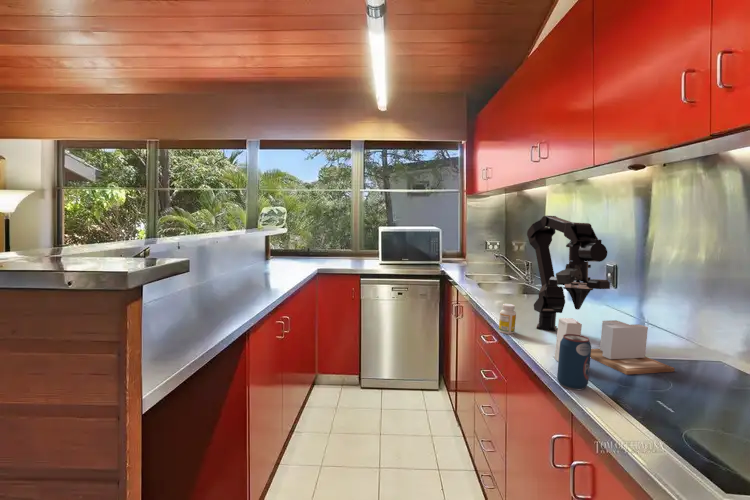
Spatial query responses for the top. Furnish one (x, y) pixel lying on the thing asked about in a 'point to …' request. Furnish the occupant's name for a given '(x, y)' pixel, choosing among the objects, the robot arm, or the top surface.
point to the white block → (623, 340)
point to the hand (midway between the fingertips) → (577, 309)
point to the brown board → (631, 364)
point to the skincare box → (566, 331)
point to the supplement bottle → (507, 319)
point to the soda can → (574, 361)
